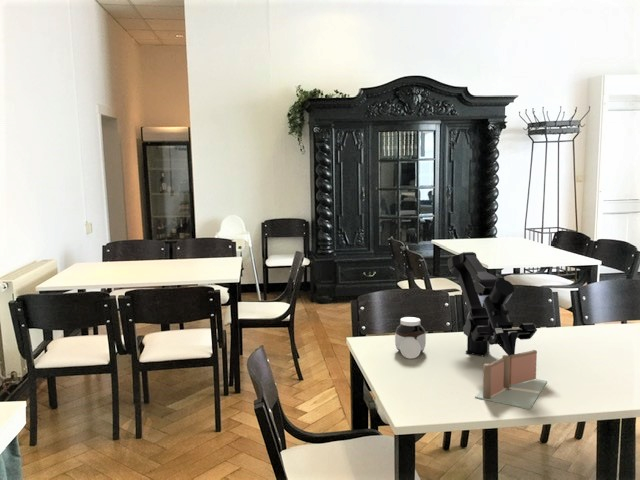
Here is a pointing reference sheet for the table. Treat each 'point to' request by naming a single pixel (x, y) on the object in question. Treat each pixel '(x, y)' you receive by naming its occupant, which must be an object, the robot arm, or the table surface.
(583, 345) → the table surface
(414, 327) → the spread jar
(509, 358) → the swing panel
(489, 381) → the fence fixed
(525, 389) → the mat
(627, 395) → the table surface
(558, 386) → the table surface
